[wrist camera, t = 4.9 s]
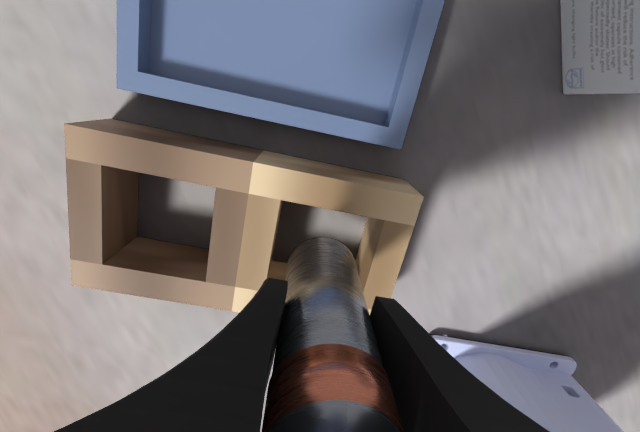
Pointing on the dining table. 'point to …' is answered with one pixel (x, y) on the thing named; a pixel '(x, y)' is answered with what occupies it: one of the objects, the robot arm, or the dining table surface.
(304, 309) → the grey orange cylinder
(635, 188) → the dining table surface
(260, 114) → the tray
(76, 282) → the square wooden frame
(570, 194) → the dining table surface
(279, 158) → the light wood square frame
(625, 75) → the light bulb box
